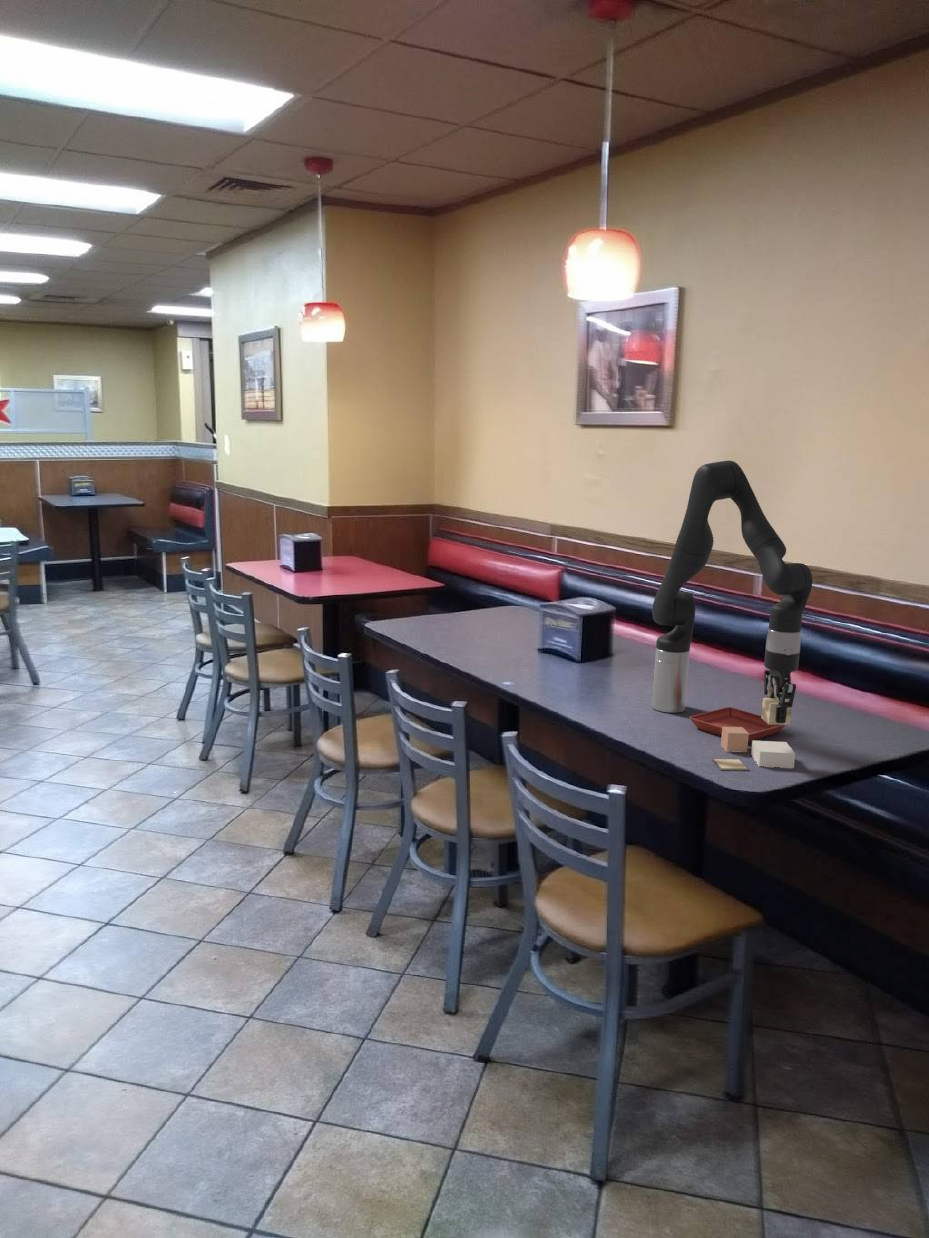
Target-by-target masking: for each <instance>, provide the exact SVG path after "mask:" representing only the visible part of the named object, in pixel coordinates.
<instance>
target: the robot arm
mask: <svg viewBox="0 0 929 1238" xmlns="http://www.w3.org/2000/svg"><path fill="white" fill-rule="evenodd" d="M690 487H691V488H690V491H689V497H688V501H687V505H686V510H685V513H684V516H683V521H682V523H681V526H680V527H681V528H680V530H679V533H678V535H677V537H676V541H675V544H674V547H673V550H672V553H671V557H670V561H669V563H668V567H667V570H666V572H665V574H664V576H663V579H662V581H661V583H660V585H659V587H658V590H657V592H656V594H655V597H654V600H653V603H652V608H651V613H652V619H653V622H655V623H656V624H657V625H660V626H674V628H673V629H672V630H671V631H669V632H667V633H665V634H663V635H659V637H657V639H656V642H655V644H656V645H655V659H654V672H653V674H654V675H653V683H652V684H653V685H652V687H653V688H652V698H651V700H652V701H651V707H652V709H654V710H656V711H659V712H663V713H674V714H676V713H682V712H685V710H686V704H687V702H686V701H687V691H688V680H689V679H688V678H689V668H690V667H689V665H690V664H689V662H690V651H691V643H692V640H693V633H694V624H695V619H696V609H697V608H696V600H695V597H694V595H693V594H692V593H691V592H687V591H680V590H681V588H682V587H683V586H684V585H686V584H687V583H688V582H689V581H691V579H693V578H694V577H695V576H696V575H698V574H699V573H700V572H701V571H702V570H703V569H704V568H705V566H706V565H707V563H708V561H709V558H710V554H712V553H711V552H712V550H713V546H714V535H713V532H712V529H711V526H710V524H709V520H708V519H709V514H710V511H711V509H712V506H713V504H714V503H715V502H716V501H721V500H725V499H731V500H732V502H733V503H734V504H735V505H736V506H737V508H738V509H739V511H740V512H739V513H740V521H741V524H740V526H741V528H740V529H741V535H742V538H743V540H744V542H745V544H746V546H747V548H748V549H749V550H750V552H751V554H752V555H753V556H754V557H755V559H756V561H757V563H758V566H759V569H760V572H761V574H762V578H763V580H764V583H765V585H766V587H767V588H768V589H769V590H770V591H771V592H772V593H774V594H776V595H779V596H782V598H781V600H779V602H778V603H776V604H773V606H772V607H771V609H770V613H769V623H768V629H767V630H768V631H767V635H766V639H765V640H766V642H765V652H764V664H763V666H764V668H766V669H765V670H764V671H763V672H764V674H763V678H764V679H763V682H764V683H763V688H764V689H763V693H764V695H765V696H766V698H776V699H777V708H776V719H775V721H776V722H777V723H785V722H786V713H787V708H788V707H792V708H793V704H794V698H795V696H796V695H795V694H796V689H797V685H796V684H795V683H792V677H791V673H793V672H796V671H797V670H798V669H799V661H800V653H801V652H800V651H801V642H802V640H801V639H802V637H801V630H802V622H803V613H804V610H805V608H806V605H807V602H808V600H809V597H810V594H811V591H812V587H813V583H814V582H813V574H812V570H811V569H810V567H808V565H806V564H805V563H801V562H793V563H786V562H785V561H784V560H783V558H784V557H785V555H787V547H786V545H785V544H784V541H783V540H782V539H781V537H780V536H779V534H777V532H776V530H775V529H774V527H772V525H771V523H770V522H769V520H768V519H767V517H766V515H765V514H764V512H763V510H762V508H761V506H760V503H759V500H758V499H757V497H756V494H755V493H754V490H753V489H752V486H751V485H750V482H749V480H748V478H747V476H746V473H745V472H744V470H743V469H742V467H741V466H740V465H739V464H738V463H737V462H736V461H733V460H722V461H715V462H711V463H710V462H709V463H705V464H703V465H701V466H699V467H698V468H697V470H696V471H695V473H694V476H693V479H692V483H691V486H690ZM780 698H781V701H780Z"/></svg>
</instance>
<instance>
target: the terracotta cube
mask: <svg viewBox="0 0 929 1238" xmlns="http://www.w3.org/2000/svg"><path fill="white" fill-rule="evenodd" d="M748 737H749V733H748V732H747V731H746V730H745V729H744V728H743V727H722V736H720V738H721V739H720V747H723V748H724V749H723V748H722V749H723V750H724V751H725V752H726V751H741V752H747V753H748V749H749V748H748V746H749V742H748Z"/></svg>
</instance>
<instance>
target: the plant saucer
mask: <svg viewBox="0 0 929 1238" xmlns="http://www.w3.org/2000/svg"><path fill="white" fill-rule="evenodd" d="M689 719H690V721H691V722H692V723H693V724H694V725H695V727H696V728H697V729H699V730H702V731H704V732H705V731H706V732H707V733H711V732H712V733H711V734H714V733H715V734H714V735H717V734H718V735H717V736H720V735H721V736H720V737H722V727H743V728H744V729H745V730H746V731H747V732H748V733H749V737H748V741H749V742H752V740H753V741H756V740H759V739H761V737H762V738H765V737H764V736H766V737H768V736H767V735H769V736H772V735H775V734H774V733H776V734H777V733H778V732H779V731H781V730H782V729H783V728H785V726H786V725H769V724H768V723H766V722H765V721H764V720H763V719H762V718H761V715H760V714H759V715H758V714H756V713H752V712H748V711H746V710H741V709H738V708H735V707H731V706H729V707H723V708H719V709H716V710H712V711H711V710H710V711H707V712H703V713H699V714H695V715H692V716H689ZM771 734H772V735H771ZM758 738H759V739H758ZM755 739H756V740H755Z"/></svg>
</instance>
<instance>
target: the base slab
mask: <svg viewBox="0 0 929 1238" xmlns="http://www.w3.org/2000/svg"><path fill="white" fill-rule="evenodd" d="M750 750H751V753H750V756H751V755H752V756H751V757H752V759H753V758H754V759H753V760H754V762H755V761H756V762H757V763H756V762H755V763H756V764H758V765H757V766H758V767H759V766H762V768H774V767H780V768H779V769H793V768H795V761H796V760H795V759H796V752H795V751H794V750H793V748H792V747H791V746H790V745H789V744H788V742H787V741H770V740H752V741H751V749H750ZM763 766H764V767H763Z"/></svg>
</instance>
